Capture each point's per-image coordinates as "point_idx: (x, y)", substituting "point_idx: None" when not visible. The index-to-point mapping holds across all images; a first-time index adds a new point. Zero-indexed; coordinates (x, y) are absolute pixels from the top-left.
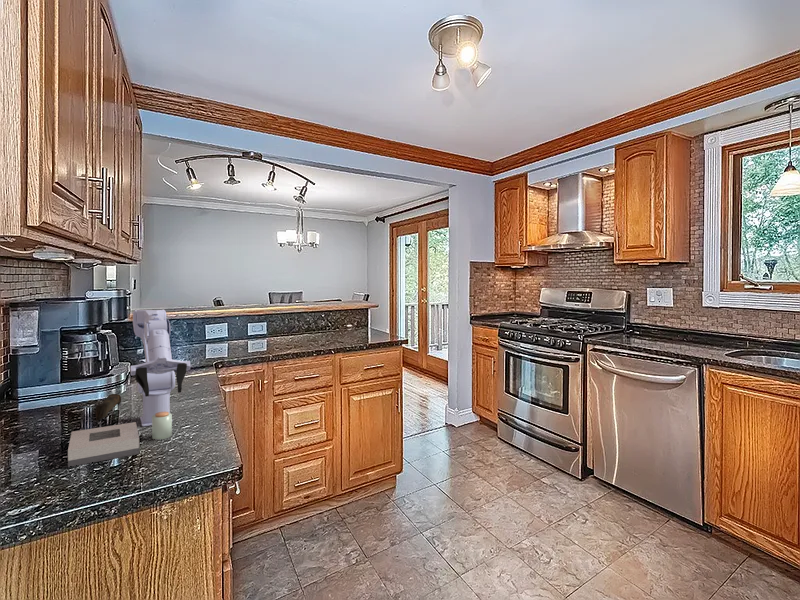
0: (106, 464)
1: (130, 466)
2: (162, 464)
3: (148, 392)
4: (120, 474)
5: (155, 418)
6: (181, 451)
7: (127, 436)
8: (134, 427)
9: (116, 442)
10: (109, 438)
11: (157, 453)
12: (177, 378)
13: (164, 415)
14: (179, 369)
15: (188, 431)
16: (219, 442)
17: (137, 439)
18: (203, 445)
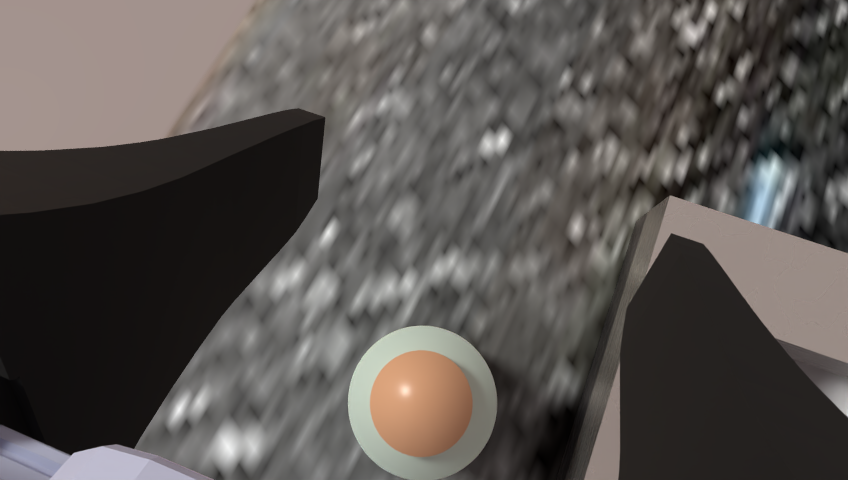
0: (806, 212)
1: (726, 95)
2: (610, 5)
3: (670, 245)
4: (789, 43)
5: (489, 372)
6: (474, 82)
7: None
8: (610, 446)
9: (797, 237)
10: (814, 344)
11: (568, 151)
12: (185, 298)
13: (425, 350)
14: (77, 189)
15: (283, 343)
16: (285, 44)
17: (676, 201)
18: (360, 70)
